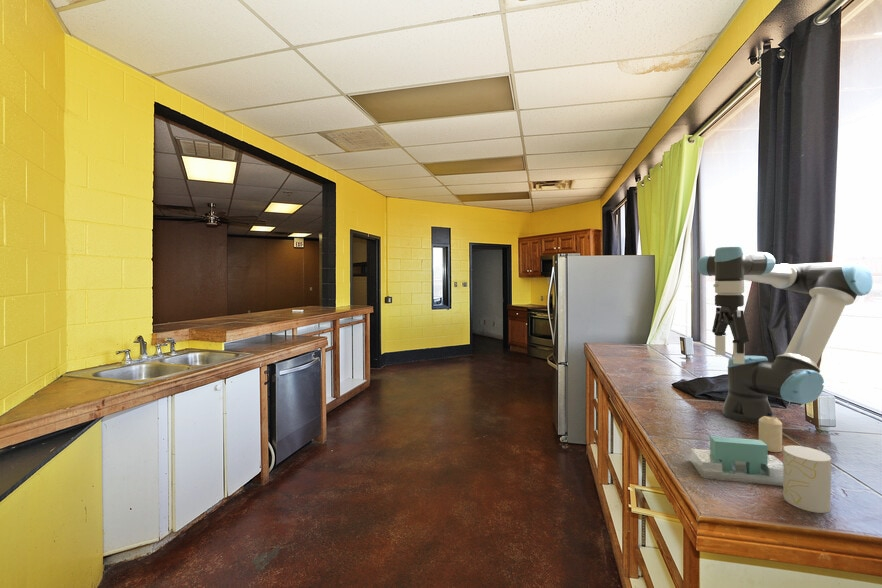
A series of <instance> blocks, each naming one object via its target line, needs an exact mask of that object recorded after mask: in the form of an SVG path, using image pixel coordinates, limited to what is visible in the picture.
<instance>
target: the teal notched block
mask: <svg viewBox="0 0 882 588" xmlns="http://www.w3.org/2000/svg"><path fill="white" fill-rule="evenodd" d="M709 450H710V454H711V455H712V456H713V457H714V459H717V460H719V461H720V462H721V463H722V471H731V472H732V461H740V462H746V470H747V471H748V472H749V473H751V474H761V463H762V464H768V455H769V454H768V453H769V451H768V445H766V444H765V443H764V442H763V441H761V440H759V439H752V438H751V439H750V438H741V437H739V438H737V437H726V436H725V437H723V436H713V435H712V436H709Z"/></svg>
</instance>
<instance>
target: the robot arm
mask: <svg viewBox="0 0 882 588" xmlns="http://www.w3.org/2000/svg"><path fill="white" fill-rule="evenodd" d="M714 253H715V254H710V255H709V254H707V255H703V256H701V257H700V258H699V259H698V260H697V265H696V269H697V271H698V272H699V274H701V276H708V277H713V276H714V284H713V285H712V286H713V288H714V293H715V295H714V305H715V306H716V308H715V316H714V321H713V326H712V330H711V332H712V333H714V337H715V338H714V339H715V340H714V342H715V343H714V346H715V347H714V348H715V349H714V351H715V352H714V355H716V356H718V355H719V356H725V355H726V336H727V334H726V330H727V328H728V326H729V328H730V331H731V334H732V337H733V340H732V346H733V347H732V356H730V358H729V359H728V363H727V389H728V390H727V396H726V398H725V400H724V402H723V403H724V404H723V405H722V414H723V415H724V416H725V417H726V418H727V417H728V418H729V419H732V420H735V421H739V422H742V423H750V424H756V425H757V424H758V425H759V419H760V418H762V417H763V416H768V417H775V416H774V412H773V409H772V407H771V405H770V402H769V400H768V397H773V398H777V399H780V400H784V401H786V402H790V403H796V404H801V405H806V404H809V403H812V402H814V401H816V400H817V399H818V398H819V397H820V395H822V393H823V390H824V386H825V385H824V384H825V381H824V377H823V376H822V374H820V372H821V369H820V368H819V365H818V363H819V360H820V359H821V356H822V354H823V352H824V350H825V348H826V347H827V344H828V342H829V341H830V340H829V339H830V338H831V336H832V333H833V332H834V329H835V327H836V325H837V323H838V321H839V319H840V317H841V315H842V313H843V312H844V311H843V310H844V309H845V307H846V306H849V305H852V304H854V302H855V300H856V299H857V296H858V297H862V296H865V295H868V294H870V292H871V291H872V287H873V276H872V273H871V270H870V268H869V267H868V266H867V265H866V264H864V263H863V262H861V261H848V260H844V261H836V262H835V261H833V262H828V261H827V262H809V263H791V264H790V263H780V264H779V263H778V264H776V258H775V257H774V255H772V254H771V253H769V252H763V251H751V252H750V251H749V252H745V249H744V247H743V246H742V245H729V246H728V245H727V246H718V247H717V248H716V249H715V252H714ZM745 281H748V282H754V283H761V284H767V285H771V286H772V287H773V288H777V289H780V290H787V291H790V292H794V293H795V292H796V293H802V294H808V295H809V296H810V297H811V299H810V301H809V303H808V305H807V308H806V309H805V311H804V313H803V316H802V318H801V319H800V321H799V324H798V325H797V328H796V329H795V330H794V331H795V332H794V334H793V336H792V338H790V339H791V340H790V341H789V344H788V345H787V347H786V350H785V352H784V353H783V354H782V353H781V354H778V355H776V357H775V359H774V361H773V362H769V359H768V357H767V356H764V355H745V347H746V346H745V344H746V343H749V341H750V338H749V335H748V330H747V326H746V321H745V315H744V310H739V309H738V308H739V307H743V306H744V305H745V296H744V295H743V294H744V292H745Z"/></svg>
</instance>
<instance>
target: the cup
mask: <svg viewBox="0 0 882 588" xmlns="http://www.w3.org/2000/svg"><path fill="white" fill-rule="evenodd" d="M782 451H783V452H782V453H783V454H782V455H783V462H782V463H783V486H782V487H783V488H782V491H783V492H782V497H783V499H784V500H785V501H786V502H787V503H789V504H790V505H792V506H794V507H796V508H798V509H800V510H804V511H807V512H812V513H818V514H827V513H830V511H831V510H832V509H831V503H832V501H831V499H832V497H831V496H832V493H831V491H832V457H831V456H830V455H829V454H828V453H826V452H824V451H821V450H819V449H816V448H813V447H807V446H803V445H785V446H783V447H782Z"/></svg>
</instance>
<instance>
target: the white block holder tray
mask: <svg viewBox="0 0 882 588" xmlns="http://www.w3.org/2000/svg"><path fill="white" fill-rule="evenodd" d="M689 460H690V463H691V464H692V465H693V466H694V468H695V470H697V472H698V473H699V475H700V476H701V477H702V478H703V479H711V480H719V481H720V480H721V481H728V482H729V481H730V482H739V483H750V484H760V485H769V486H778V487H779V486H780V487H783V462H782V461H781V460H780V459H779V458H778V457H776V456H775V455H772V454H768V464H762V463H761V474H751V473H749V472H748V471H747V470H746V462H740V461H732V472H731V471H722V463H721V462H720V461H719V460H717V459H714V457H713V456H712V455H711V454H710V449H701V448H700V449H698V448H690V454H689Z"/></svg>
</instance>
